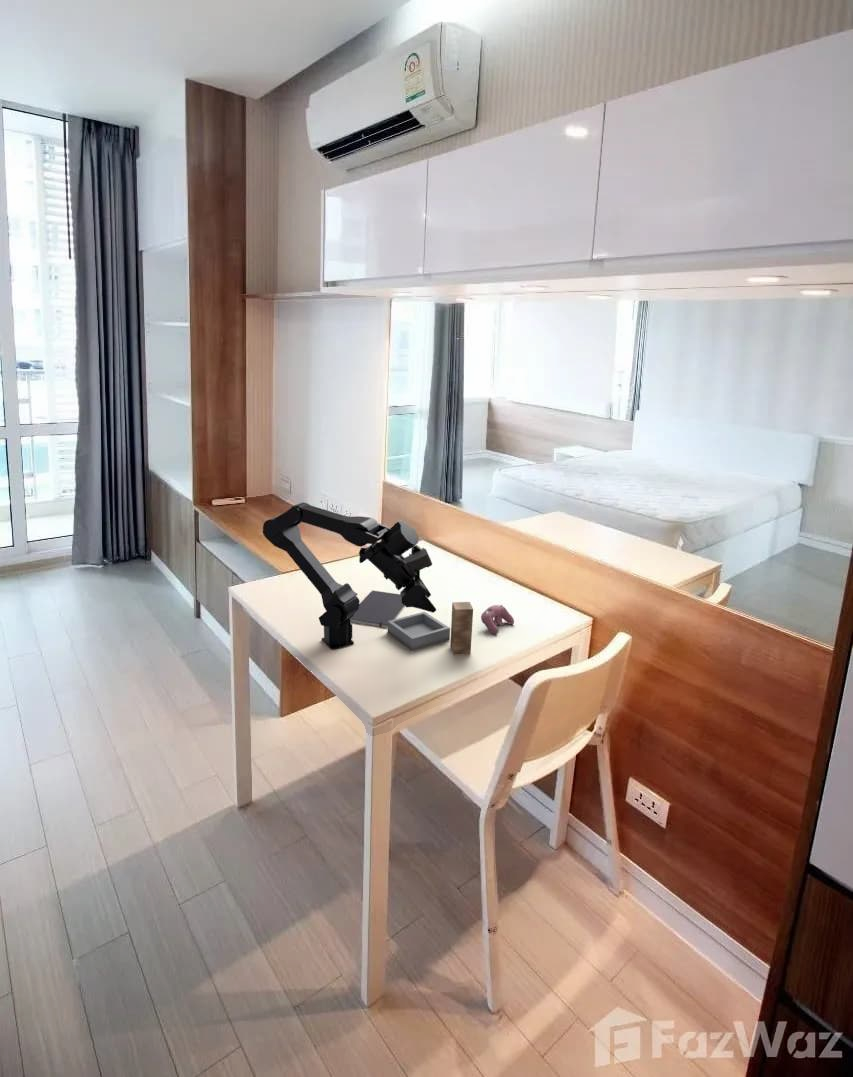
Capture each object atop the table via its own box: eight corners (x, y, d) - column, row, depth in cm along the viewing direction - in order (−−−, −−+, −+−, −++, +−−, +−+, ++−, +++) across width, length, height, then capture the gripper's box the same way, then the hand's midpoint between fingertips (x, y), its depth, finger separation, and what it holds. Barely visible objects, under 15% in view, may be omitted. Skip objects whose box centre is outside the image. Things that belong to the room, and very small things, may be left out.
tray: (411, 651, 166) (412, 638, 165) (387, 633, 176) (387, 621, 175) (449, 639, 173) (450, 627, 172) (424, 623, 182) (424, 611, 181)
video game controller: (503, 625, 186) (495, 602, 186) (516, 623, 183) (508, 599, 183) (484, 637, 179) (476, 613, 179) (497, 634, 176) (488, 610, 176)
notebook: (372, 594, 201) (345, 623, 182) (372, 590, 201) (345, 618, 181) (411, 600, 198) (388, 630, 179) (411, 595, 198) (388, 624, 178)
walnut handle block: (453, 654, 165) (455, 609, 161) (450, 646, 170) (452, 602, 166) (470, 654, 166) (473, 609, 162) (467, 645, 170) (469, 601, 166)
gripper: (417, 553, 148) (462, 596, 153) (408, 528, 165) (449, 568, 170) (382, 586, 149) (428, 628, 154) (377, 558, 167) (418, 596, 172)
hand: (432, 603), depth 162 cm, fingers open, 9 cm apart
